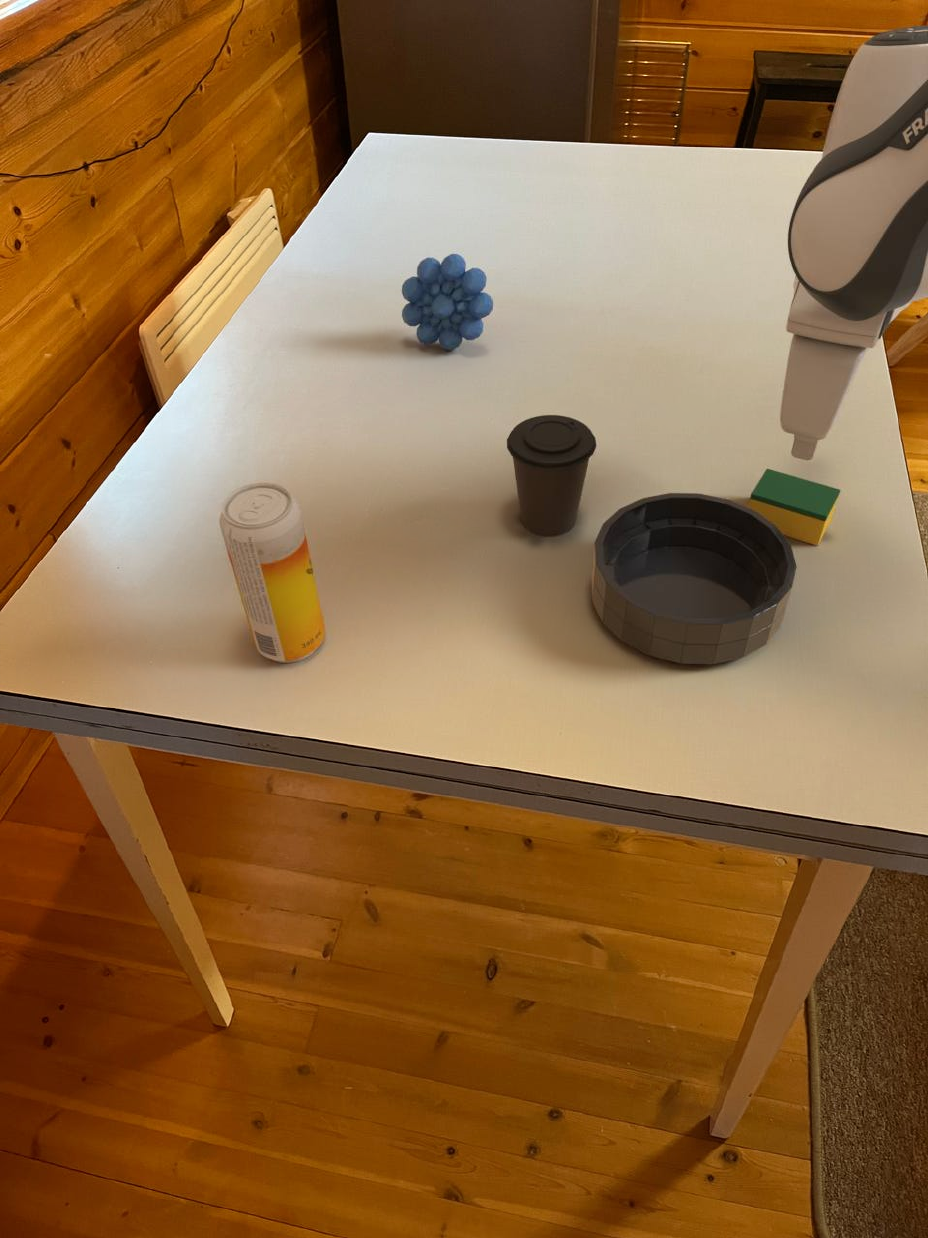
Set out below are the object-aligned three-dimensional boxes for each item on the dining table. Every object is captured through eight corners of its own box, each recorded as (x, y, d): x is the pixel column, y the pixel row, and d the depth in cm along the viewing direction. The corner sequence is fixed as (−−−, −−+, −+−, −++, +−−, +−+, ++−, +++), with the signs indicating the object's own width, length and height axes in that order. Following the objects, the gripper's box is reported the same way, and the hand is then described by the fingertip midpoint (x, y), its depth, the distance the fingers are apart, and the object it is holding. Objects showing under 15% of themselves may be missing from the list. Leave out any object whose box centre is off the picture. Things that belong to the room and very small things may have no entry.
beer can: (338, 624, 81) (311, 486, 70) (307, 674, 77) (274, 536, 66) (275, 610, 82) (240, 473, 72) (243, 658, 78) (200, 521, 68)
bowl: (765, 540, 86) (777, 493, 83) (797, 673, 75) (813, 626, 71) (588, 537, 88) (592, 491, 84) (594, 668, 76) (598, 621, 72)
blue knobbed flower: (505, 339, 114) (504, 242, 106) (487, 366, 110) (485, 268, 101) (418, 325, 118) (410, 231, 109) (397, 352, 113) (387, 255, 105)
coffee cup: (603, 506, 91) (611, 419, 84) (570, 555, 86) (575, 467, 79) (528, 484, 94) (530, 398, 87) (492, 531, 89) (490, 444, 82)
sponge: (831, 518, 88) (840, 489, 86) (817, 546, 86) (826, 516, 83) (759, 497, 91) (766, 467, 89) (744, 522, 88) (751, 493, 86)
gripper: (843, 212, 78) (806, 360, 88) (783, 321, 65) (748, 480, 75) (923, 224, 76) (876, 374, 86) (876, 339, 63) (827, 500, 73)
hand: (815, 425), depth 80 cm, fingers open, 8 cm apart
